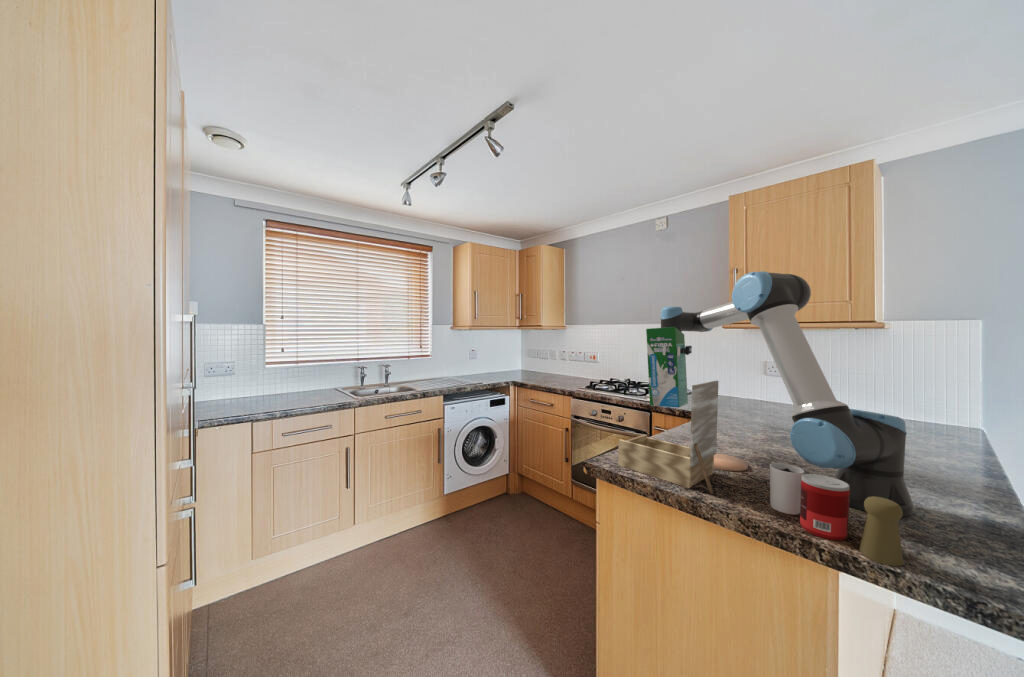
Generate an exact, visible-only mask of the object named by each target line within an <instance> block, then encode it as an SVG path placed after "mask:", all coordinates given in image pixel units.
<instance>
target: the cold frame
mask: <svg viewBox="0 0 1024 677" xmlns="http://www.w3.org/2000/svg"><path fill="white" fill-rule="evenodd" d="M719 383H720V382H719V380H712V381H707V382H704V383H702V382H701V383H697V384H693V385H691V387H692V388H691V408H690V409H691V412H690V413H691V416H690V443H689V444H690V447H689V446H685V445H681V444H677V443H673V442H670V441H665V440H661V439H657V438H653V437H649V436H648V434H641V435H638V436H635V437H633V438H629V439H627V440H624V439H621V438H620V439H618V445H617V446H618V450H617V455H618V456H617V466H620V467H623V468H625V469H629V470H632V471H635V472H638V473H641V474H644V475H647V476H651V477H653V478H657V479H659V480H663V481H665V480H666V482H669V483H671V482H672V483H671V484H675V485H678V486H681V487H684V488H687V489H690V488H692V487H693V485H694V486H695V485H697V484H699V482H702V481H703V480H705V483H706V486H707V489H708V492H709V494H710V495H713V494H715V492H714V490H713V486H712V484H711V480H710V477H709V476H711V475H713V474H714V470H715V468H714V455H715V454H716V453H717V441H718V440H717V438H718V436H717V435H718V412H719V411H718V408H719V407H718V406H719Z"/></svg>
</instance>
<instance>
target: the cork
mask: <svg viewBox="0 0 1024 677" xmlns="http://www.w3.org/2000/svg"><path fill="white" fill-rule="evenodd" d="M864 507H865V510H866V511H865V512H866V513H867V514H866V519H865V524H864V526H863V527H864V528H863V530H862V536H861V540H860V544H859V548H858V550H859V552H860V553H861V554H862V555H863V556H865V557H866V558H867V559H870V560H872V561H873V562H877V563H878V564H882V565H886V566H890V565H894V566H893V567H902V566H901V565H903V566H904V565H905V562H904V556H903V555H904V554H903V549H902V542H901V533H900V527H899V521H900V520H901V519H902V518H903V517H902V515H903V512H902V509H901V507H900V506H899V505H898V504H897V503H896V502H894V501H892V500H889V499H885V498H881V497H874V496H872V497H868V498H866V499H865V501H864Z"/></svg>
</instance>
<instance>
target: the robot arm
mask: <svg viewBox="0 0 1024 677" xmlns="http://www.w3.org/2000/svg"><path fill="white" fill-rule="evenodd" d="M811 291H812V290H811V287H810V285H809V283H808V282H807V281H806V280H805V279H804V278H803V277H802V276H798V275H796V274H790V273H781V272H780V273H778V272H777V273H776V272H768V271H763V270H762V271H751V272H748V273H746V274H744V275H742V276H741V277H739V279H738V280H737V281H736V283H735V284H734V286H733V289H732V293H731V301H729V302H726V303H723V304H720V305H717V306H713V307H710V308H708V309H704V310H701V311H698V312H688V311H683V308H682V306H664V307H662V308H661V311H660V328H666V327H675V328H677V329H678V330H679V331H681V332H682V333H683V332H695V333H696V332H698V333H705V332H706V333H707V332H710V331H712V330H713V329H714V328H718V327H723V326H727V325H730V324H734V323H740V322H743V321H747V320H749V322H750V324H751V325H753V326H756V327H758V328H759V329H760V332H761V334H762V336H763V338H764V341H765V343H766V345H767V346H766V347H768V350H769V351H770V352H769V353H770V355H771V356H772V359H773V362H774V363H775V365H776V368H777V370H778V373H779V375H780V377H781V380H782V382H783V384H784V386H785V388H786V391H787V394H788V395H789V397H790V399H791V402H792V404H793V406H794V410H793V412H792V413H791V416H790V417H791V420H792V421H793V425H792V426H791V427H790V428H791V430H790V432H789V440H790V444H791V445H792V448H793V449H794V451H795V452H796V453H797V454H798V455H799V456H800V458H802V459H803V460H804V461H806V462H808V463H809V464H811V465H813V466H815V467H819V468H822V469H834V470H835V469H836V472H835V474H834V476H833V478H836V479H839V480H841V481H844V482H845V483H847V484H848V485H849V488H850V499H849V507H851V508H854V509H857V510H861V511H865V512H866V510H865V507H864V501H865V499H866V498H868V497H872V496H874V497H881V498H885V499H889V500H892V501H894V502H896V503H897V504H898V505H899V506H900V507H901V509H902V512H903V515H902V518H905V517H907V518H908V517H911V516H912V515H913V514H914V502H913V500H912V498H911V495H910V492H909V490H908V488H907V484H906V482H905V478H904V476H905V460H906V459H905V456H906V454H905V453H906V438H907V433H908V432H907V430H906V429H907V428H906V422H905V420H904V419H903V418H901V417H899V416H896V415H890V414H884V413H879V412H873V411H869V410H868V411H867V410H862V409H861V410H860V409H854V408H849V405H848V404H847V403H844V402H841V401H839V400H837V398H836V397H835V394H834V392H833V390H832V388H831V387H830V384H829V382H828V380H827V379H826V376H825V374H824V372H823V370H822V368H821V366H820V364H819V362H818V360H817V358H816V356H815V354H814V352H813V350H812V348H811V346H810V344H809V341H808V340H807V337H806V335H805V333H804V332H803V329H802V328H801V326H800V324H799V321H798V320H797V318H796V314H797V312H799V311H801V310H802V309H804V308H805V307H806V305H807V304H808V303H809V301H810V299H811V296H812V295H811V294H812V292H811ZM692 348H693V346H692V345H685V348H682V349H680V347H677V356H680V353H685V356H689V355H690V354H692V353H693V352H692V351H693V349H692ZM665 352H666V346H663V355H665Z"/></svg>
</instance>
